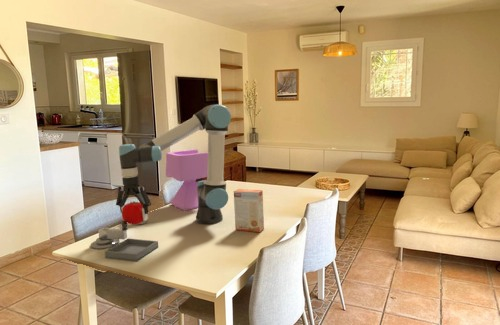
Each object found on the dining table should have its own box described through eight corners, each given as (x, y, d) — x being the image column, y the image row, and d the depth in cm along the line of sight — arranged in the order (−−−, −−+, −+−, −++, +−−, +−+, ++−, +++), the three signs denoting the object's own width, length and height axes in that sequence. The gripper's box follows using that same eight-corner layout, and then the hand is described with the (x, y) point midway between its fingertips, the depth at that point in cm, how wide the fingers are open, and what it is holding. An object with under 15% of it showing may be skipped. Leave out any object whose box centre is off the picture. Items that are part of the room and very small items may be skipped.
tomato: (124, 228, 178) (121, 205, 177) (122, 222, 189) (119, 200, 187) (149, 224, 183) (147, 201, 181) (146, 217, 194) (144, 196, 192)
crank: (97, 239, 180) (95, 222, 179) (102, 236, 185) (101, 219, 183) (125, 240, 177) (123, 223, 176) (130, 237, 182) (129, 220, 181)
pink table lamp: (215, 205, 246) (212, 152, 240) (182, 211, 233) (178, 155, 227) (199, 198, 265) (196, 149, 259) (168, 204, 252) (164, 152, 247)
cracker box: (264, 229, 195) (263, 189, 191) (259, 233, 189) (258, 192, 186) (240, 226, 201) (238, 188, 197) (235, 230, 195) (233, 190, 192)
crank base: (125, 240, 186) (124, 235, 186) (107, 250, 174) (106, 244, 174) (103, 238, 190) (103, 233, 190) (84, 247, 178) (84, 242, 178)
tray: (158, 247, 175) (157, 241, 175) (137, 261, 160) (136, 254, 159) (128, 244, 180) (128, 238, 180) (105, 257, 165) (104, 251, 165)
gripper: (155, 174, 182) (160, 218, 185) (114, 174, 190) (120, 216, 193) (146, 178, 175) (151, 223, 178) (104, 177, 183) (110, 220, 186)
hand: (135, 219), depth 186 cm, fingers closed on tomato, 11 cm apart
